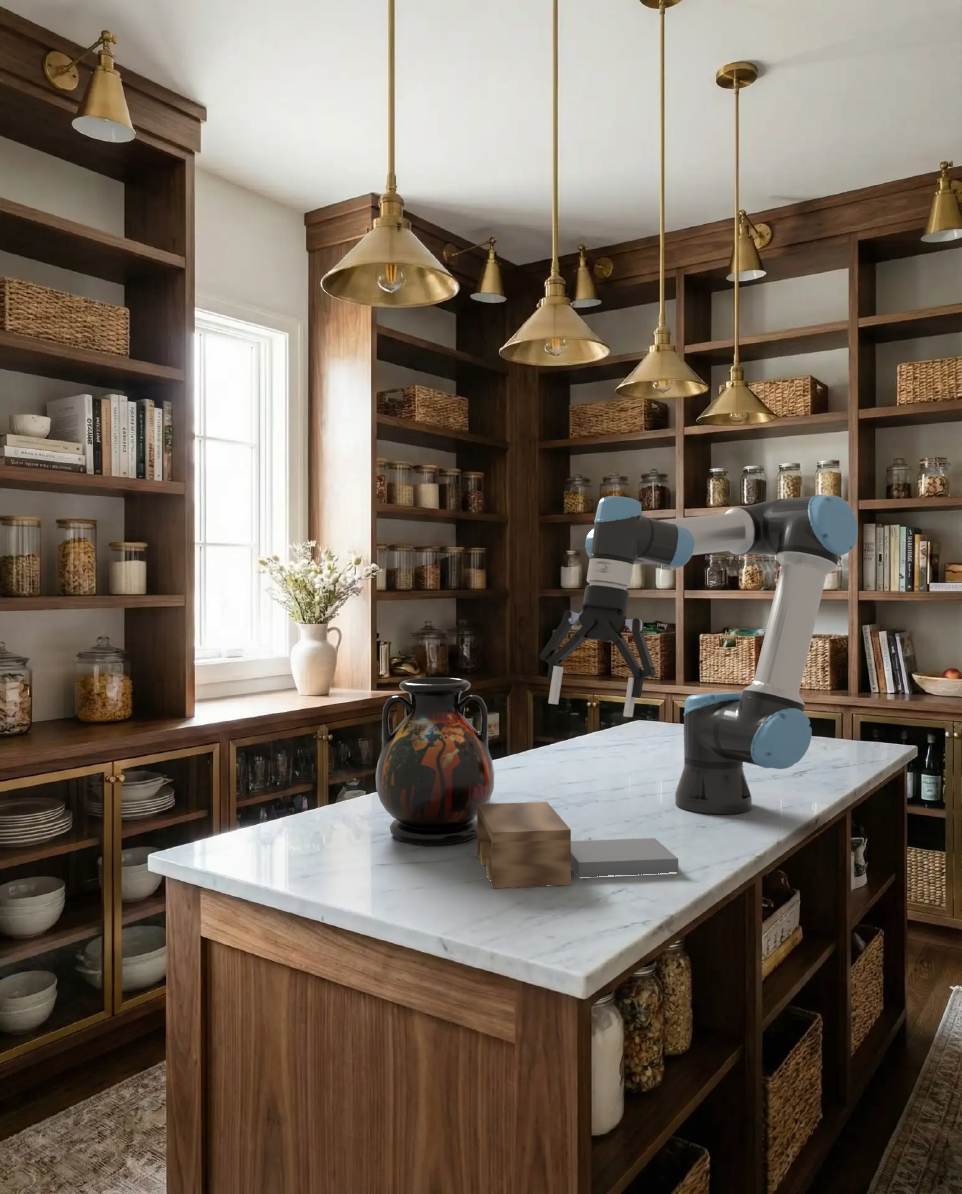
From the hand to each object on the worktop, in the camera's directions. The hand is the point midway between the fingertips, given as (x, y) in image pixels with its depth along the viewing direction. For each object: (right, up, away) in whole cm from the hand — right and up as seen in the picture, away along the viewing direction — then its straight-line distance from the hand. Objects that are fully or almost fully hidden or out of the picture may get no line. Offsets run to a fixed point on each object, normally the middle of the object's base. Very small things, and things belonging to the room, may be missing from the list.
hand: (589, 710), depth 163 cm
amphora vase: (-27, -24, +11) cm, 38 cm away
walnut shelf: (-12, -24, -9) cm, 29 cm away
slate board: (+4, -25, -7) cm, 26 cm away
